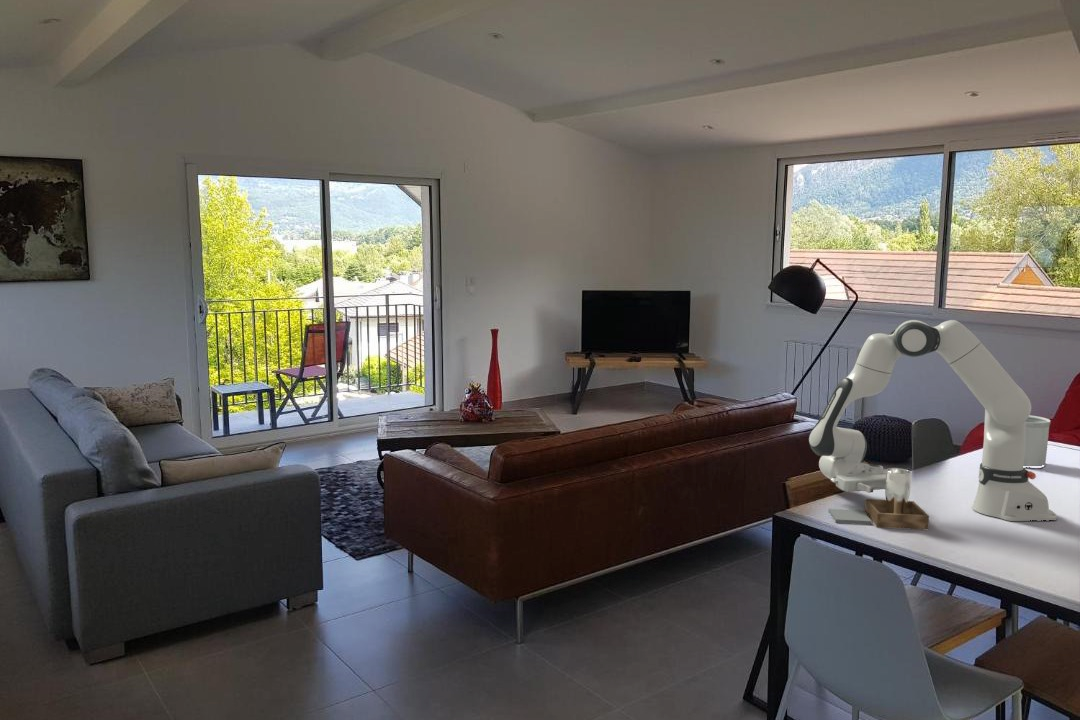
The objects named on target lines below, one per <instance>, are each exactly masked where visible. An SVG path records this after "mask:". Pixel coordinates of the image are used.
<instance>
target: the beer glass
mask: <svg viewBox="0 0 1080 720" xmlns="http://www.w3.org/2000/svg"><path fill="white" fill-rule="evenodd" d="M886 470H887V473H886V479H885V489H884V493H885V500H886V513H892V514H906V506H907V502H908V501H909V499H910V494H911V488H912V471H911V470H908V469H905V468H898V467H891V468H890V467H889V468H887V469H886Z"/></svg>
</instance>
